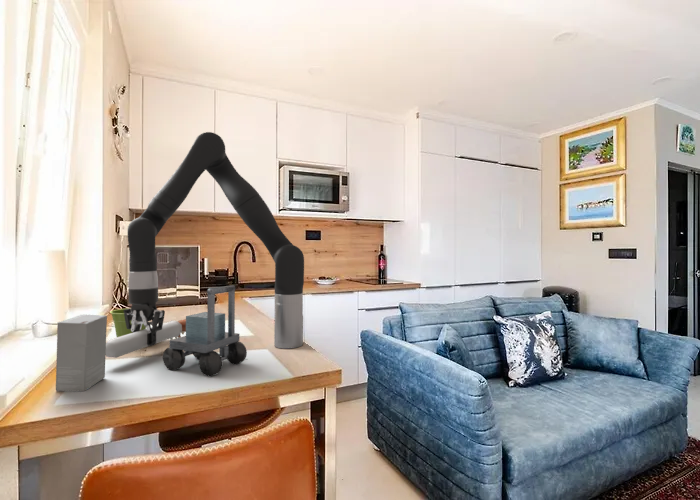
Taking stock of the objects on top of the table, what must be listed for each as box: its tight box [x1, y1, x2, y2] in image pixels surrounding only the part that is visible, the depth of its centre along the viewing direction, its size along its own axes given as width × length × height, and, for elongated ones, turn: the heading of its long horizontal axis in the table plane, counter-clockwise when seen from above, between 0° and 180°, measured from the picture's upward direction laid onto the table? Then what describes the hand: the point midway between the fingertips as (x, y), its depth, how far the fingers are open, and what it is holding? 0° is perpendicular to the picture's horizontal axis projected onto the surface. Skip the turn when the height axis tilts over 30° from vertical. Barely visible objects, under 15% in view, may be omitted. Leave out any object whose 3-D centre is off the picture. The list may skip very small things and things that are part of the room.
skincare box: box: [55, 314, 108, 392], centre depth 84 cm, size 8×7×16 cm
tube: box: [105, 320, 182, 359], centre depth 106 cm, size 5×5×25 cm
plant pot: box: [109, 307, 147, 338], centre depth 120 cm, size 12×12×11 cm
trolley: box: [162, 284, 248, 377], centre depth 98 cm, size 13×18×22 cm
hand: (144, 344), depth 106 cm, fingers closed on tube, 5 cm apart
